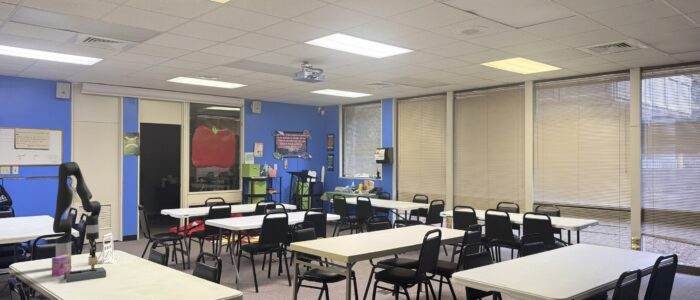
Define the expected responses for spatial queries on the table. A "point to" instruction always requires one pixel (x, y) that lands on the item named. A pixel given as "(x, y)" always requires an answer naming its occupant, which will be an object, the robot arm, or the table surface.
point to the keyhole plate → (84, 274)
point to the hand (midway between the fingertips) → (92, 256)
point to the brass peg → (92, 261)
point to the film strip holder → (108, 260)
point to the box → (61, 265)
